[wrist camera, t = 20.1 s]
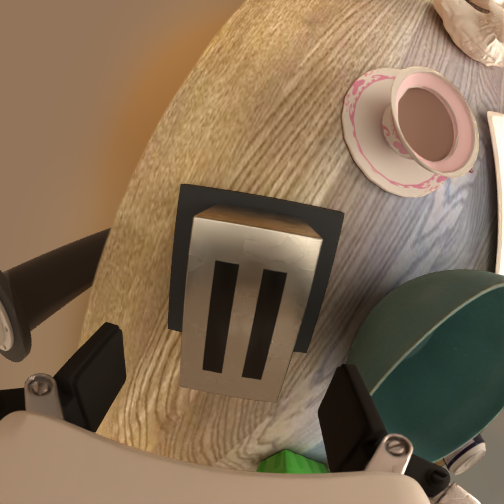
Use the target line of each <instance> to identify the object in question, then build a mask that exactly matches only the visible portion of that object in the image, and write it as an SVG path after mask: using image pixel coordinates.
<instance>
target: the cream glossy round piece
mask: <svg viewBox="0 0 504 504" xmlns="http://www.w3.org/2000/svg"><path fill="white" fill-rule="evenodd" d="M468 1H470V2H471V3H473V4H475V5H476V6H478V7H481V8H483V9H487V10H490V9H489V8H488V6H487V4H488V0H468ZM494 1H495V2H496V3H497V4H498V5H501V6H502V8H503V9H504V0H494Z"/></svg>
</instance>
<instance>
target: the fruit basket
mask: <svg viewBox="0 0 504 504" xmlns="http://www.w3.org/2000/svg"><path fill="white" fill-rule="evenodd" d="M256 472H263V473H283V474H318V473H330V472H329V471H328V469H327V467H326V465H325V464H322V463H318V462H316V461H314V460H311V459H307V458H305V457H303V456H301V455H298V454H294V453H293V452H291V451H288V450H283V451H281V453H277V454H275V455H273V456H271V457H269V458H267V459H266V460H264V461H261V462H260V463H259V466H258V469H257V471H256Z"/></svg>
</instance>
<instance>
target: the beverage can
mask: <svg viewBox="0 0 504 504" xmlns="http://www.w3.org/2000/svg"><path fill="white" fill-rule="evenodd" d="M485 453H486V449H485V442H484V440H483V439H482V437H481V435H480V434H478V435H477V436H475V437H474V438H473V439H472V440H470V441H469V442H468V443H466V444H465V445H464V446H462V447H461V448H459V449H458V450H456V451H455V452H453V453H451V454H450V455H448V456H446V457H444V458H443V460H444V462H445V464H446V466H447V468H448V470H449V471H451V472H453V473H454V475H458V474H460V473H463V472H464V471H466V470H467V469H469V468H470V467H472V466H473V465H474V464H476V463H477V462H478V461H479V460H480V459H481V458H482V457H483V456H484V454H485Z"/></svg>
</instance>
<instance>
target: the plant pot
mask: <svg viewBox="0 0 504 504" xmlns="http://www.w3.org/2000/svg"><path fill="white" fill-rule="evenodd" d="M346 364H355V365H356V367H357V369H358V371H359V373H360V375H361V377H362V379H363V381H364V383H365V386H366V388H367V390H368V392H369V394H370V395H371V397H372V399H373V402H374V404H375V406H376V408H377V410H378V413H379V415H380V417H381V419H382V422H383V424H384V426H385V428H386V431H387V433H388V434H392V433H397V434H401V435H403V436H405V437H407V438H408V439H409V440H410V441H411V443H412V446H413V452H412V453H413V454H415V455H417V456H419V457H421V458H423V459H425V460H427V461H430V462H432V463H434V462H436V461H438V460H440V459H442V458H444V457H446V456H448V455H450V454H451V453H453V452H455V451H456V450H458V449H459V448H461V447H462V446H464V445H465V444H466V443H468V442H469V441H470V440H472V439H473V438H474V437H475V436H477V435H478V434H479V433H480V432H481V431H482V430H483V429H484V428H486V427H487V426H488V425H489V424H490V423H491V422H492V421H493V420H494V419H495V417H496V416H497V415H498V414H499V413H500V412H501V411H502V409H503V408H504V275H500V274H496V273H491V272H487V271H479V270H446V271H440V272H434V273H430V274H426V275H423V276H420V277H417V278H415V279H413V280H410V281H408V282H406V283H404V284H403V285H401V286H399V287H398V288H396V289H394V290H393V291H392V292H390V293H389V294H388V295H387V296H385V297H384V298H383V299H382V300H381V301H380V302H379V303H378V304H377V305H376V306H375V307H374V308H373V310H372V311H371V312H370V313H369V315H368V316H367V318H366V319H365V321H364V322H363V324H362V325H361V327H360V329H359V331H358V333H357V335H356V337H355V339H354V341H353V344H352V346H351V349H350V352H349V355H348V359H347V362H346Z"/></svg>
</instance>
